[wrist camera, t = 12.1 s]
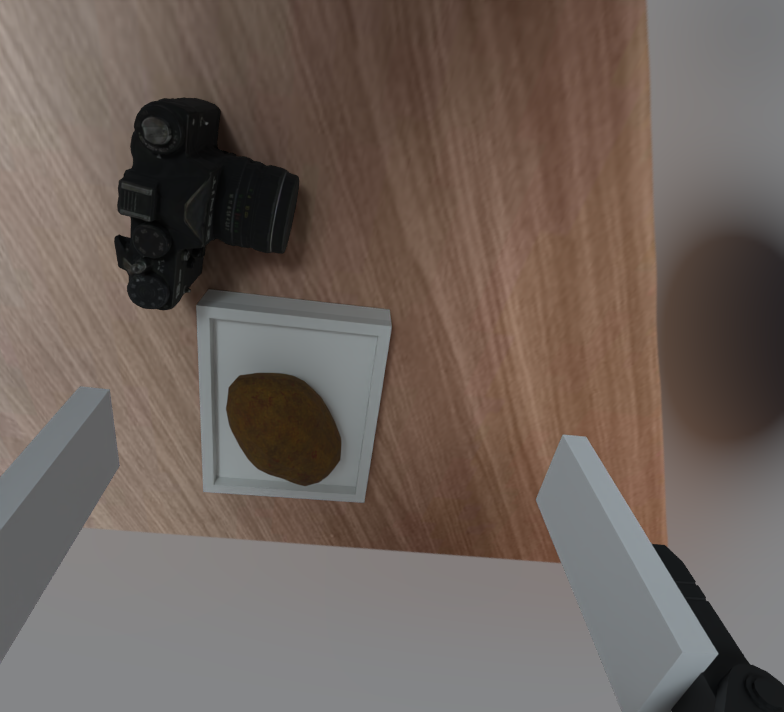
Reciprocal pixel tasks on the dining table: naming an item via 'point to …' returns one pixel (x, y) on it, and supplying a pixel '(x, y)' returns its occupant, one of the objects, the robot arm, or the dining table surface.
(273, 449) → the potato
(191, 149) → the camera
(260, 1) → the dining table surface
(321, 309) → the tray
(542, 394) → the dining table surface
